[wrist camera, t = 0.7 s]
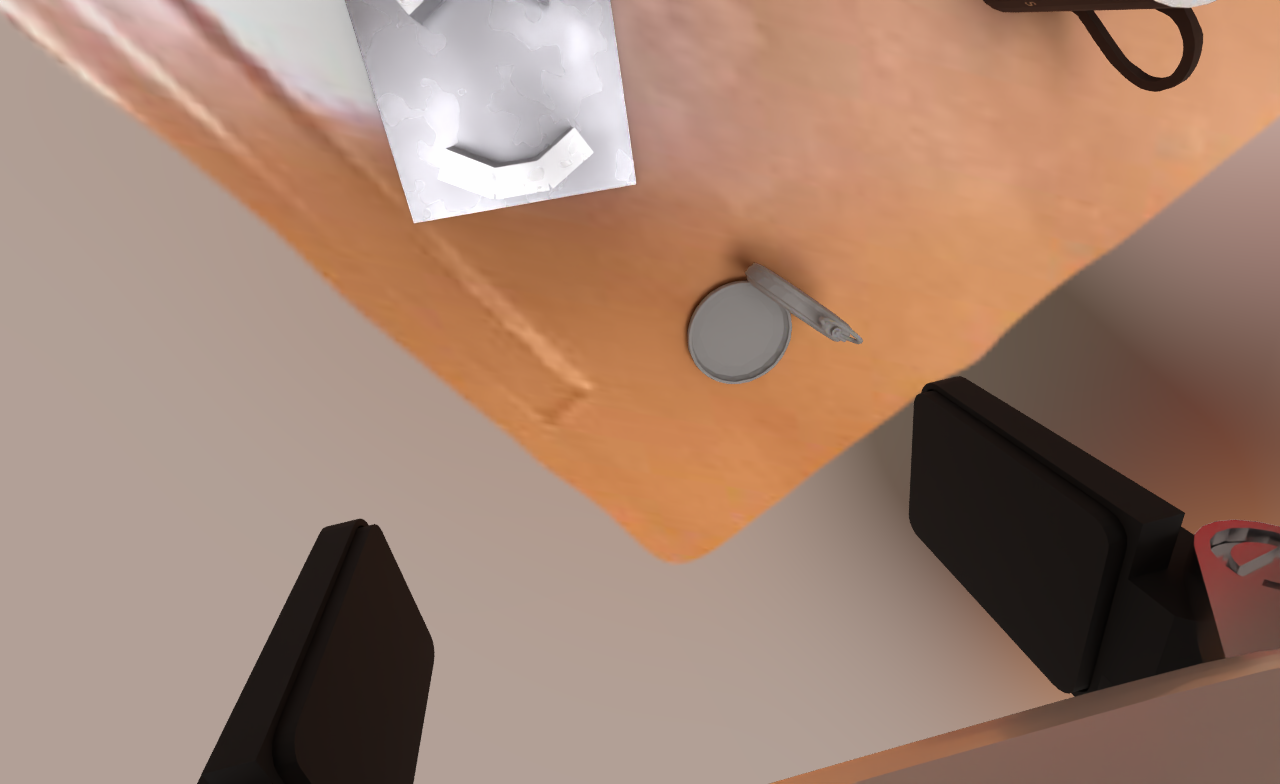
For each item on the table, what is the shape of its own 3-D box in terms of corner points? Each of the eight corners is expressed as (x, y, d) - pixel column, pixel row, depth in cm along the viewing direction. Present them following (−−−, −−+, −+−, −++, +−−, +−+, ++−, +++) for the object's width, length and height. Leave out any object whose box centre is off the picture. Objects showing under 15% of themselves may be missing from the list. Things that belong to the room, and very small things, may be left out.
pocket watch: (683, 381, 39) (730, 462, 30) (687, 250, 35) (743, 297, 26) (802, 372, 40) (882, 448, 31) (818, 246, 36) (914, 289, 27)
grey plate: (331, -52, 26) (305, -74, 23) (596, -88, 27) (605, -113, 24) (415, 221, 32) (403, 233, 29) (634, 183, 33) (646, 190, 30)
